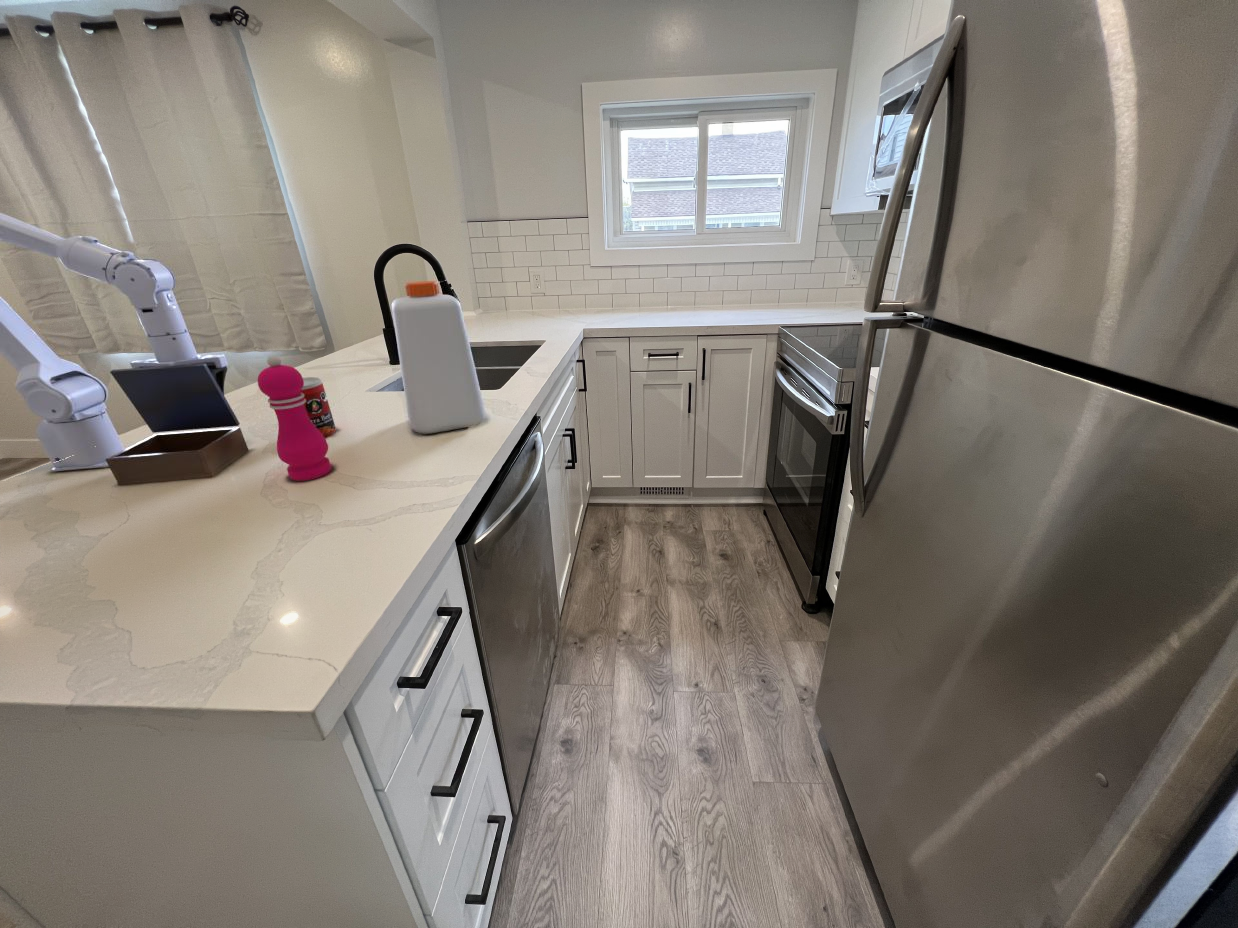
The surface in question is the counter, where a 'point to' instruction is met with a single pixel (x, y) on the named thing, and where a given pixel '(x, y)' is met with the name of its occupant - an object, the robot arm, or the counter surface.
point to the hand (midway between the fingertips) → (198, 407)
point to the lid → (176, 397)
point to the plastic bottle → (436, 361)
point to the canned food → (318, 406)
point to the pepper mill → (294, 422)
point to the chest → (178, 456)
